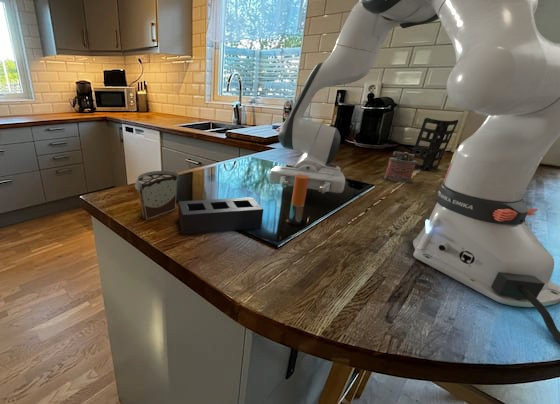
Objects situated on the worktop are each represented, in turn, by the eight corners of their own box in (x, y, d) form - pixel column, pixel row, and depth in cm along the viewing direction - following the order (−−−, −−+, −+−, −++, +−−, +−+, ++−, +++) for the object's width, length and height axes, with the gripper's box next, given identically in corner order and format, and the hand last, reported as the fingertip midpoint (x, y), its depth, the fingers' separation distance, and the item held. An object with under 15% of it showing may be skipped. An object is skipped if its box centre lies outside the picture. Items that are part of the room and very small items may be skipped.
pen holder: (261, 228, 71) (263, 209, 69) (182, 234, 67) (182, 214, 65) (250, 214, 77) (252, 197, 75) (178, 219, 74) (178, 201, 72)
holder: (432, 165, 124) (451, 116, 114) (443, 172, 118) (464, 121, 108) (404, 164, 125) (421, 116, 115) (413, 171, 119) (432, 121, 109)
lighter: (410, 180, 106) (419, 153, 102) (410, 183, 103) (419, 155, 99) (384, 176, 110) (391, 149, 106) (383, 179, 107) (391, 151, 103)
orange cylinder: (303, 224, 73) (311, 178, 68) (291, 225, 72) (299, 178, 68) (297, 219, 76) (304, 174, 71) (286, 219, 75) (293, 174, 70)
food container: (165, 201, 84) (164, 167, 80) (179, 207, 80) (179, 172, 76) (127, 213, 76) (124, 176, 72) (141, 221, 72) (139, 183, 68)
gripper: (274, 158, 92) (264, 170, 81) (346, 167, 85) (347, 182, 73) (272, 178, 95) (262, 192, 83) (341, 188, 87) (341, 205, 76)
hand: (302, 187), depth 78 cm, fingers open, 8 cm apart
